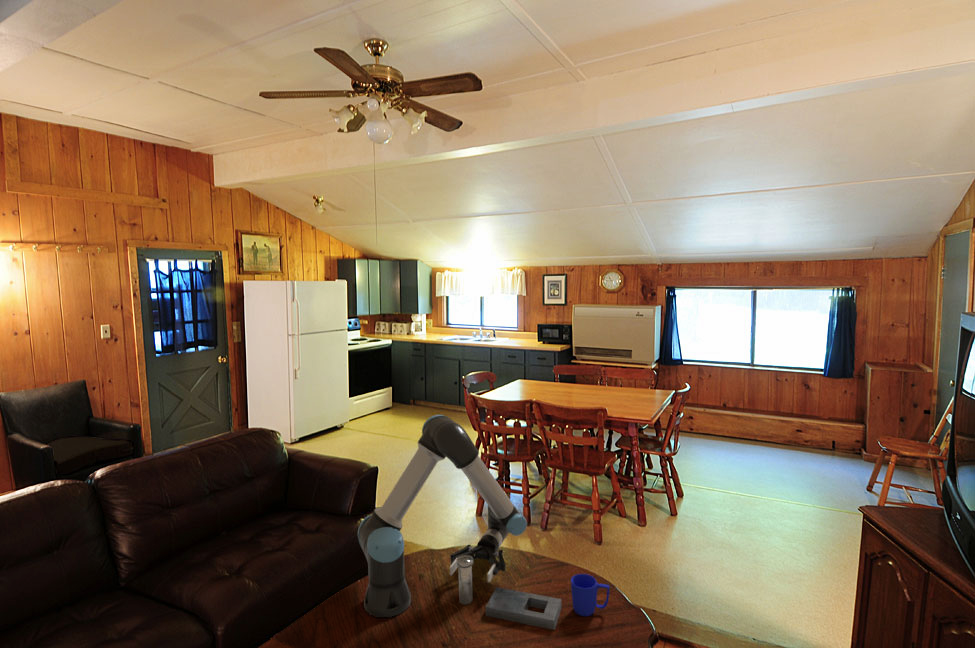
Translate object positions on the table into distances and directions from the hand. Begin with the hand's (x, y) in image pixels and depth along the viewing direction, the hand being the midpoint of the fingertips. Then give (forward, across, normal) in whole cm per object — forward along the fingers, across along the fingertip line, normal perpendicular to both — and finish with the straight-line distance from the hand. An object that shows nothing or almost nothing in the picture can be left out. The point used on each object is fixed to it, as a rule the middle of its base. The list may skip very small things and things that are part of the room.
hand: (469, 574), depth 169 cm
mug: (-4, -39, -8) cm, 40 cm away
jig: (+2, -19, -8) cm, 21 cm away
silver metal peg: (+2, +1, -8) cm, 8 cm away
